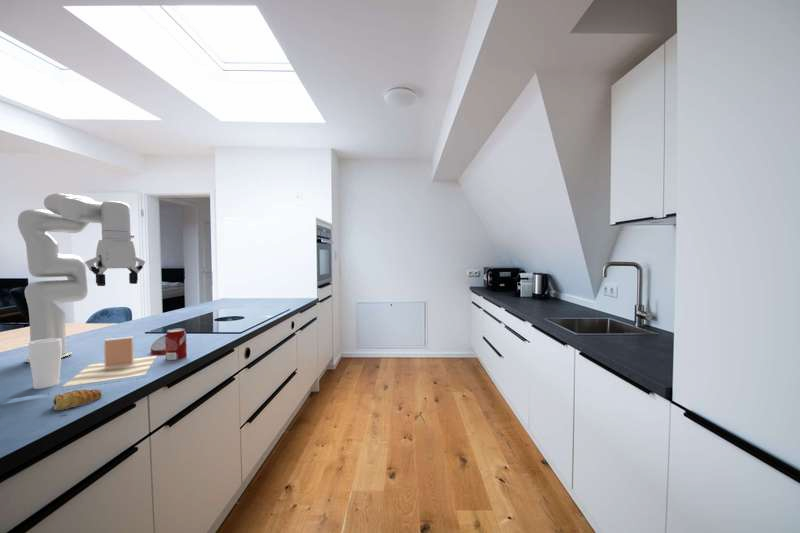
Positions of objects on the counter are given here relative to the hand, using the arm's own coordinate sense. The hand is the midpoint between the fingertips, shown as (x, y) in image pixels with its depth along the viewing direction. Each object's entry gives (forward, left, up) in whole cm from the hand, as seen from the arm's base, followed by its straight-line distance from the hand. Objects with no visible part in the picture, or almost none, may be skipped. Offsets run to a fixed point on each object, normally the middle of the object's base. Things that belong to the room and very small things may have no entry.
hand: (117, 284), depth 110 cm
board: (+1, -1, -31) cm, 31 cm away
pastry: (+27, -4, -32) cm, 42 cm away
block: (-4, -1, -30) cm, 30 cm away
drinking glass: (+8, -16, -31) cm, 36 cm away
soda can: (-4, +16, -31) cm, 35 cm away
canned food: (-17, +11, -32) cm, 38 cm away
